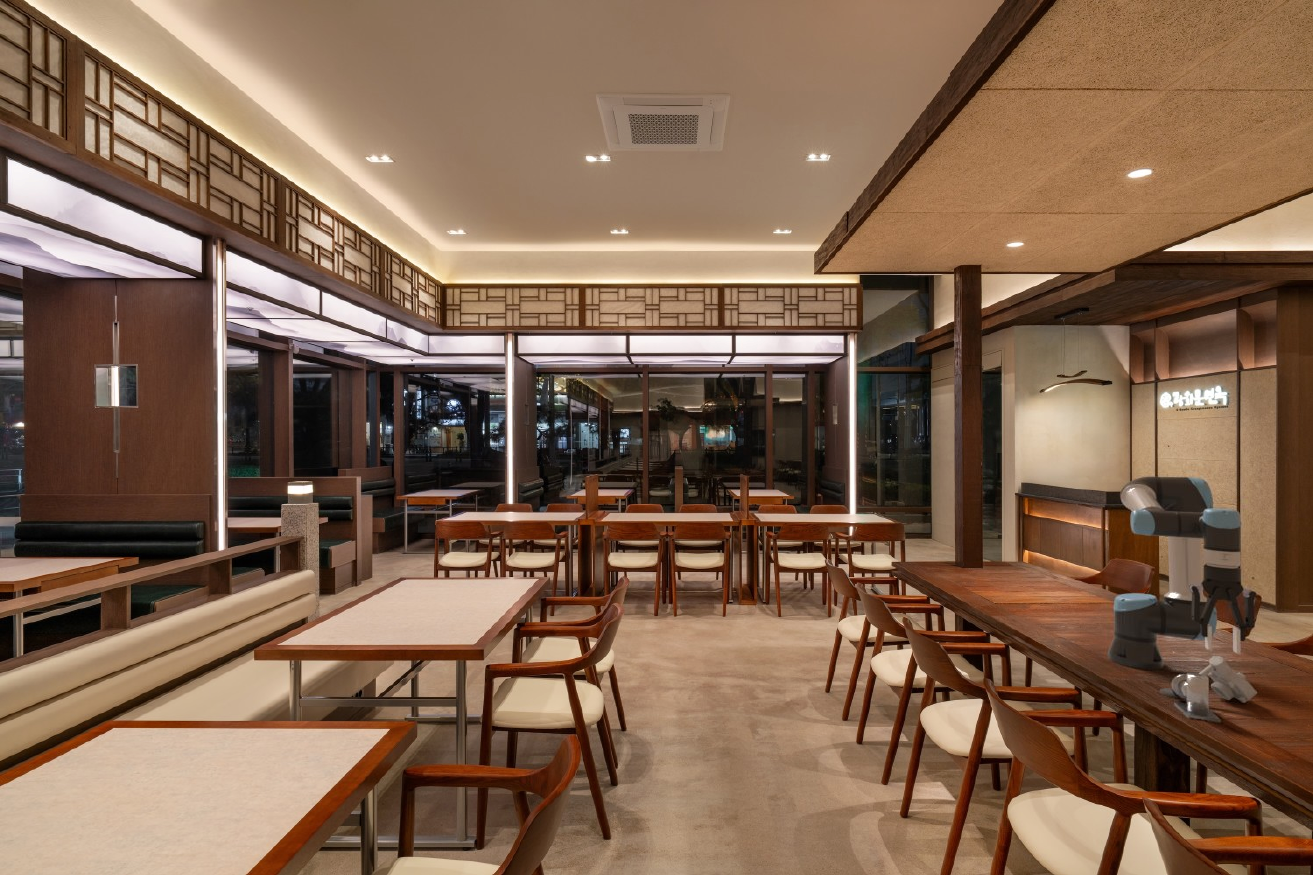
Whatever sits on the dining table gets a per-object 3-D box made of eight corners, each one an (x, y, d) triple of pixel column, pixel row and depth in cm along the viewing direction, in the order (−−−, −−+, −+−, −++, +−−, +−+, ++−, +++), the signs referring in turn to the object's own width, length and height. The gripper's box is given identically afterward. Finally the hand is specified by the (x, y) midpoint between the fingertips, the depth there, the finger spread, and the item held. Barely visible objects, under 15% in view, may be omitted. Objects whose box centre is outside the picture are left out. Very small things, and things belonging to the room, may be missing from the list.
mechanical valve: (1266, 699, 174) (1236, 659, 174) (1217, 737, 174) (1187, 698, 174) (1231, 682, 185) (1202, 645, 184) (1185, 719, 185) (1156, 682, 184)
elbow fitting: (1170, 702, 178) (1170, 664, 178) (1200, 706, 175) (1200, 668, 175) (1188, 719, 167) (1188, 679, 167) (1220, 723, 165) (1220, 683, 165)
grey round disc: (1157, 690, 187) (1157, 687, 187) (1181, 693, 184) (1181, 690, 184) (1163, 697, 182) (1163, 694, 182) (1188, 701, 179) (1188, 698, 179)
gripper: (1183, 564, 167) (1183, 649, 167) (1272, 571, 159) (1273, 660, 158) (1175, 560, 174) (1175, 641, 174) (1261, 566, 165) (1261, 651, 165)
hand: (1222, 650), depth 166 cm, fingers open, 5 cm apart
